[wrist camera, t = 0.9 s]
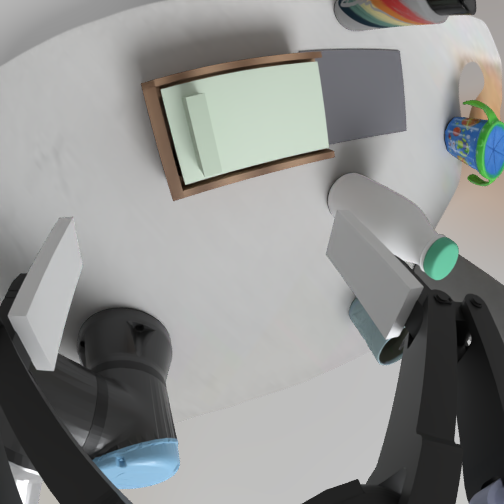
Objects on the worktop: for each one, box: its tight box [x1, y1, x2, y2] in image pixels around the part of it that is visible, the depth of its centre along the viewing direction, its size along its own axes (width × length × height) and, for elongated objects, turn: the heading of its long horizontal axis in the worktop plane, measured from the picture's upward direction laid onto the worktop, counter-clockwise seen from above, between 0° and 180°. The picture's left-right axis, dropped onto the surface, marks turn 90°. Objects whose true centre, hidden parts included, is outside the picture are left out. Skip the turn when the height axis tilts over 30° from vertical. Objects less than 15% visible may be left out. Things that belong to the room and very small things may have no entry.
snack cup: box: [445, 100, 504, 186], centre depth 42 cm, size 16×10×10 cm
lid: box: [160, 62, 329, 185], centre depth 28 cm, size 16×10×5 cm, turn 101°
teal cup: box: [349, 297, 408, 365], centre depth 53 cm, size 10×10×12 cm
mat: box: [299, 49, 406, 145], centre depth 37 cm, size 17×13×1 cm
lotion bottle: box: [334, 0, 476, 31], centre depth 23 cm, size 6×6×20 cm
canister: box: [414, 254, 504, 343], centre depth 45 cm, size 13×13×35 cm
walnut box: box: [141, 51, 335, 201], centre depth 31 cm, size 18×12×7 cm, turn 101°
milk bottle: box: [328, 173, 459, 280], centre depth 36 cm, size 8×8×20 cm
